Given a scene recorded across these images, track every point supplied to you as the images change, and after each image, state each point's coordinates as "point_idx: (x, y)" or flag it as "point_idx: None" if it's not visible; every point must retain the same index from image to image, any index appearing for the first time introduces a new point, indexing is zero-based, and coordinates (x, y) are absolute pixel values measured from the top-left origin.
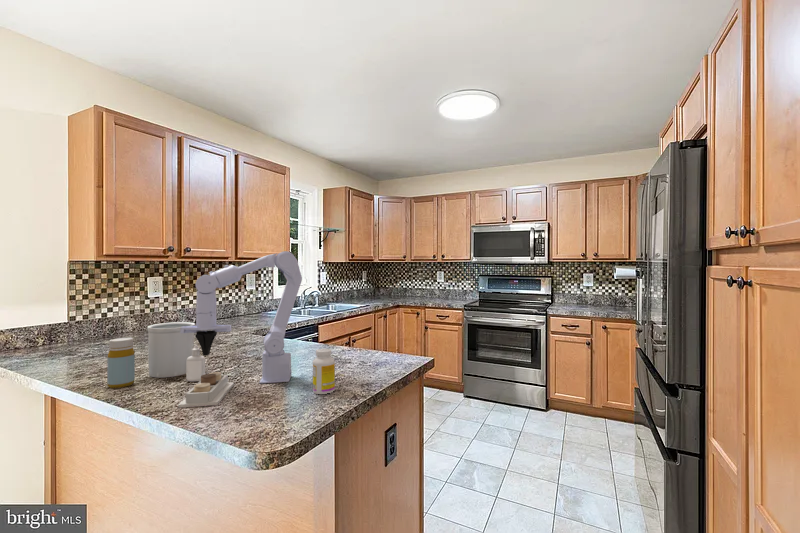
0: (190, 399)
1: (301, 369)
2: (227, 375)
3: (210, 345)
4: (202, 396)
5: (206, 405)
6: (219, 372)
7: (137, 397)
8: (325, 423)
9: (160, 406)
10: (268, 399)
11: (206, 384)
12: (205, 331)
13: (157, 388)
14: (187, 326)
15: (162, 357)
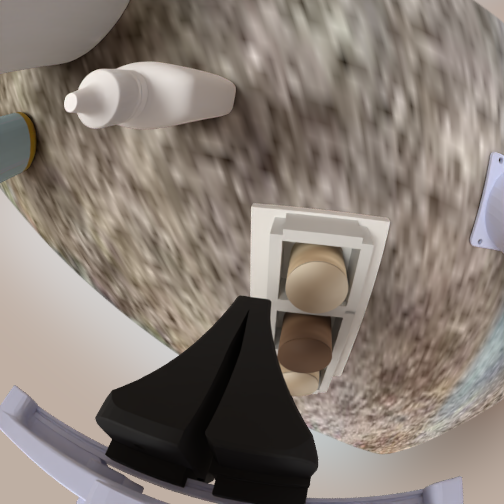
0: None
1: None
2: (372, 248)
3: (266, 350)
4: None
5: None
6: (339, 272)
7: (108, 258)
8: (459, 424)
9: None
10: (445, 362)
11: (308, 385)
12: (195, 489)
13: (108, 184)
14: (12, 439)
15: (11, 69)
